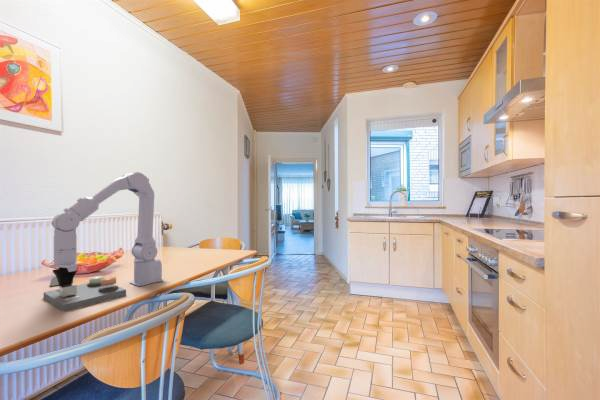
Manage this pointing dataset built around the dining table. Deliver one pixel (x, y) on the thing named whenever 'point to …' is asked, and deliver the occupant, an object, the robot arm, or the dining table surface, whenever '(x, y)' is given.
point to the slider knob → (67, 290)
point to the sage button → (95, 280)
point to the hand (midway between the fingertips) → (65, 290)
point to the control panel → (84, 296)
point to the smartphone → (55, 282)
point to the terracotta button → (108, 281)
